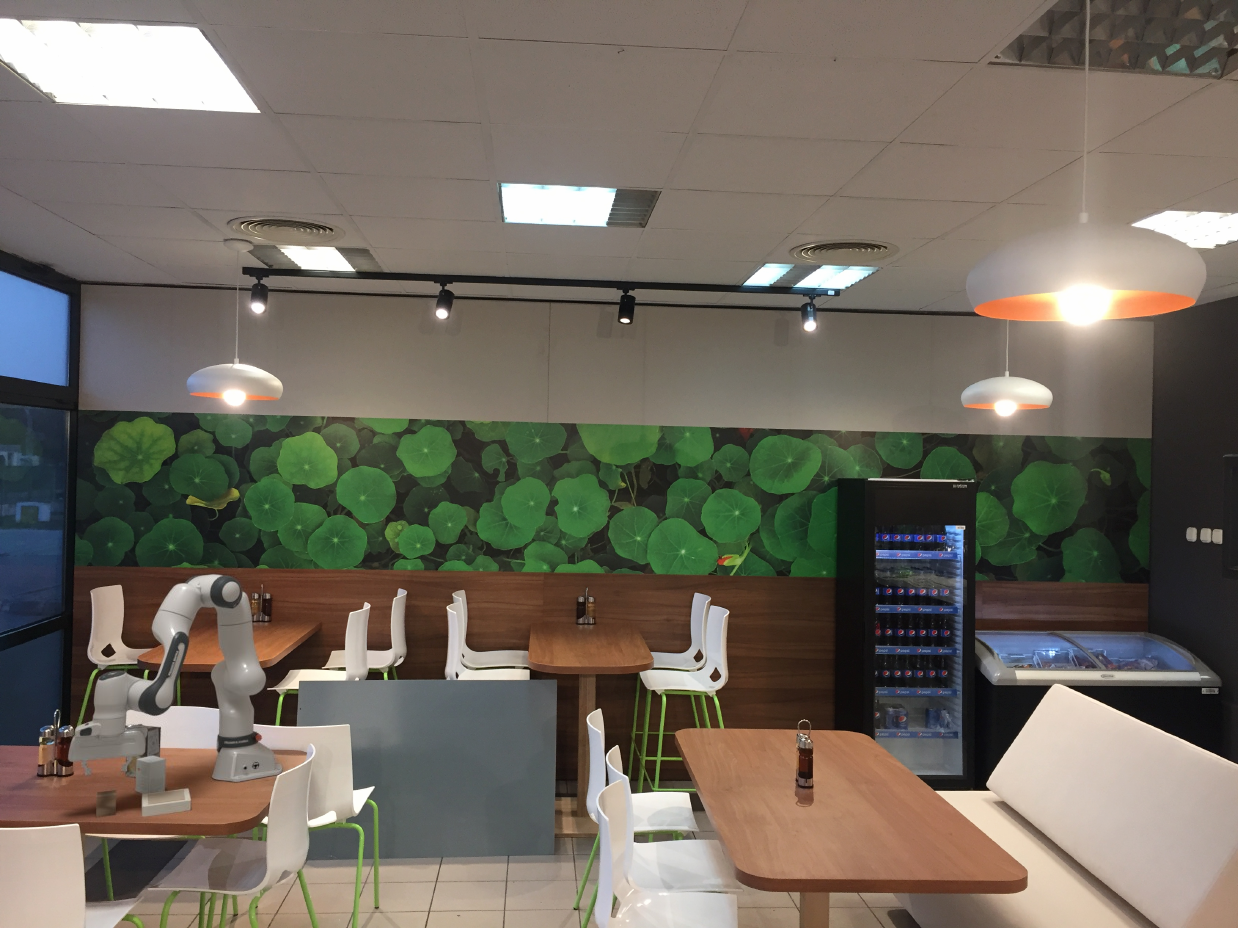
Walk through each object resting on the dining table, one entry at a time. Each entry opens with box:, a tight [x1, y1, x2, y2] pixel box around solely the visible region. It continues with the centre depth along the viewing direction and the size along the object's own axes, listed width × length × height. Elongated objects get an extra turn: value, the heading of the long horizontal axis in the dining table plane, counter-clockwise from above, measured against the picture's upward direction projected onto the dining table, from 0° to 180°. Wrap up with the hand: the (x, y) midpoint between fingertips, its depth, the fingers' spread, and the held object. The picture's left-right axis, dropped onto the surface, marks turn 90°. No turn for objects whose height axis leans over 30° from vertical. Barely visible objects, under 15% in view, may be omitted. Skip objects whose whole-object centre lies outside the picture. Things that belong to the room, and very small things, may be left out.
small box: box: [135, 756, 167, 795], centre depth 283 cm, size 8×6×10 cm
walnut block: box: [95, 789, 117, 818], centre depth 263 cm, size 5×5×6 cm
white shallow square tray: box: [141, 788, 192, 818], centre depth 269 cm, size 13×13×3 cm
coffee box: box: [125, 725, 162, 778], centre depth 301 cm, size 9×6×16 cm
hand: (106, 772), depth 263 cm, fingers open, 8 cm apart
